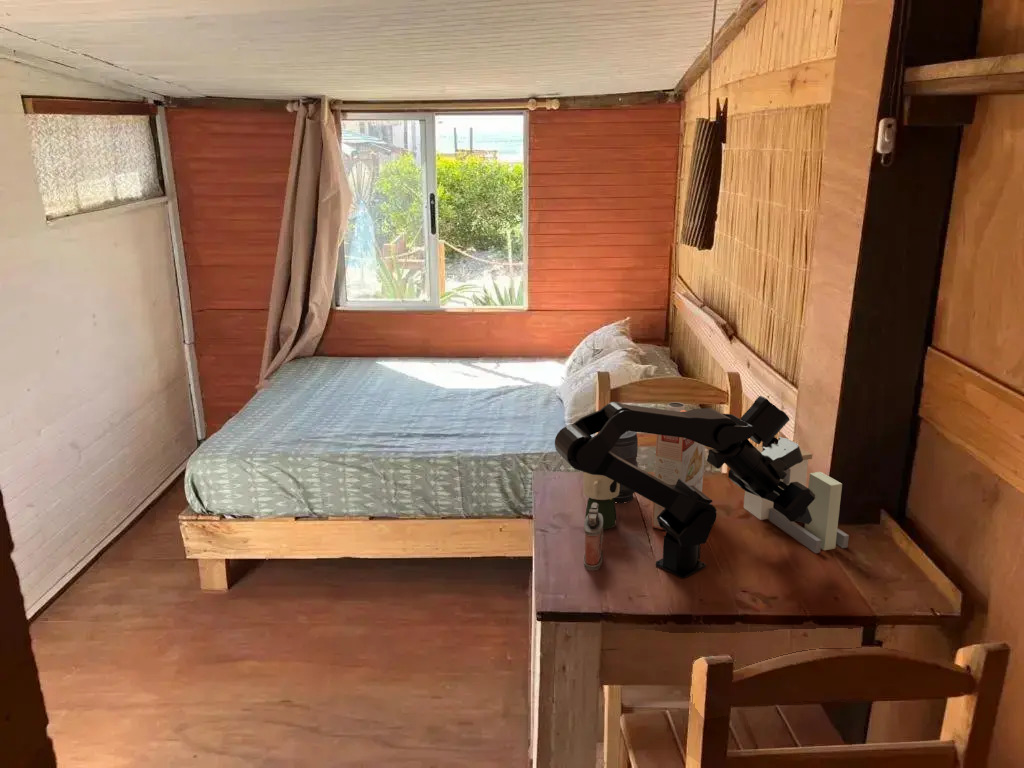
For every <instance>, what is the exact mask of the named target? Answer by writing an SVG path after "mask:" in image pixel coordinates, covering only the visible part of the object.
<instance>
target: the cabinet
mask: <svg viewBox="0 0 1024 768" xmlns="http://www.w3.org/2000/svg"><path fill="white" fill-rule="evenodd" d="M754 447H755V448H756V449H757V450H758V451H760V453H761V452H762V450H763V448H762V445H761V446H754ZM799 448H800V451H801V454H802V457H803V461H802V462H801V463H797V464H796V465H794V466H792V467H791V468H789V469H787V470H784V472H785V473H786V474H787V475H786V476H785V478H784V479H783V480H782V479H780V481H782V482H783V483H785V484H787V485H789V484H790V483H791V482H799V483H800V484H802V485H804V486H805V487H807V486H806V485H807V475H808V467H809V465H808V464H809V460H812V459H813V453H811V452H810V451H807V450H806V449H804V448H802V447H800V446H799ZM778 487H779V486H778ZM781 489H782V488H781ZM783 490H784V489H783ZM773 504H774V502H772V501H769V500H767V499H764V498H763V499H762V498H761V497H759V496H757V495H754V494H752V493H749V492H747V491H745V490H744V498H743V509H745V510H746V511H747V512H749V513H750V514H751V515H752V516H754V517H755V518H757V519H758V520H760V521H763V520H768V521H769V522H770V523H771V524H773V525H775V526H777V528H779V529H780V530H782V531H783V532H784V533H786V535H789V536H790V537H791V538H793V539H795V540H796V541H797V542H799V543H800V544H801V545H803V546H805V548H807V549H808V550H810V551H812V552H813V553H814V554H819V553H821V540H820V539H819V538H817V537H816V536H814V535H813V534H811V533H810V532H808V531H807V530H805V529H804V527H802V526H801V525H800V524H798V523H797V522H796V521H792V522H790V521H789V520H787V519H786V518H784V517H783V516H781V515H780V514H779V513H778V512H777V511H776V510H775V509H774V508H773ZM849 536H850V535H849V534H847V533H846V532H844V531H843V530H841V529H840V528H838V527H837V536H836V545H837V546H839V547H840V548H841V549H846V548H848V546H849Z"/></svg>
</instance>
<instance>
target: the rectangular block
mask: <svg viewBox="0 0 1024 768" xmlns="http://www.w3.org/2000/svg"><path fill="white" fill-rule="evenodd" d="M807 488H809V489H810V490H811V491H812V492H813V493H814V494H815V499H814V500H813V502H812V503H811V504H810V505H809V506H808V510H809V512H810V515H811V518H812V521H811V522H810V523H809V524H805V523H804V527H803V528H804V529H805V530H807V531H808V532H810V533H811V534H813V535H814V536H816V537H817V538H819V539H820V540H821V548H820V550H823V551H827V550H828V551H829V550H833V549H834V550H835V549H836V545H837V544H836V536H837V528H838V525H839V517H840V510H841V509H840V507H841V506H840V505H841V497H842V490H843V483H841V482H839V481H838V480H836V479H834V478H833V477H831V476H829V475H827V474H825V472H824V473H823V472H822V471H816V472H810V473H809V476H808V487H807Z"/></svg>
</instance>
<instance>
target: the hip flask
mask: <svg viewBox="0 0 1024 768" xmlns="http://www.w3.org/2000/svg"><path fill="white" fill-rule="evenodd" d="M583 522H584V523H583V531H584V552H583V553H584V554H583V567H584V569H586V570H587V569H589V570H588V571H597V570H599V569H600V568H601V566H600V565H602V563H603V557H604V556H603V552H604V551H603V548H602V545H603V540H604V529H603V516H602V514H600V513H598V504H597V503H593V504H592V505H591V509H589V514H588V515H587V516H586V518H585V517H584V521H583ZM598 568H599V569H598Z"/></svg>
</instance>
